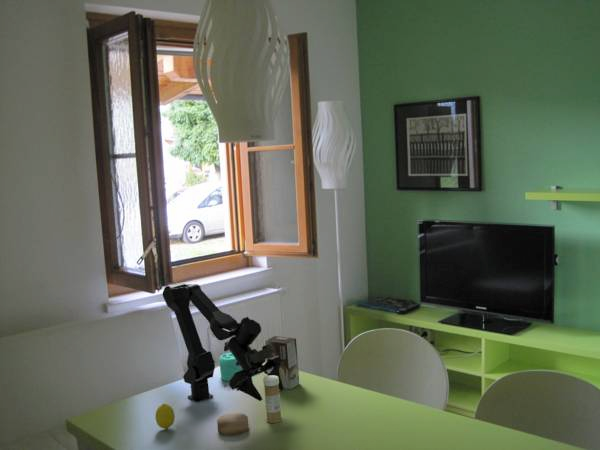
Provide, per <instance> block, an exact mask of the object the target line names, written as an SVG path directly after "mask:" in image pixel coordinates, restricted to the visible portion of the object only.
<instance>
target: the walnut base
mask: <svg viewBox="0 0 600 450" xmlns="http://www.w3.org/2000/svg"><path fill="white" fill-rule="evenodd" d="M216 422H217V433H218V432H219V433H218V434H220V435H221V436H223V437H224V436H225V437H234V436H235V437H236V436H239V435H242V434H244V433H246V432H247V431H248V430H249V417H248V416H247V414H245V413H239V412H233V413H232V412H231V413H227V414H224V415H221V416H219V418H217V420H216Z"/></svg>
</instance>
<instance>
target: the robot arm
mask: <svg viewBox="0 0 600 450" xmlns="http://www.w3.org/2000/svg"><path fill="white" fill-rule="evenodd" d="M162 296H163V299H164V302H165V304H166V306H167V307H168V308H169V309H170V310H171V311H172V312H173V313H174V315H175V317H176V320H177V323H178V327H179V329H180V331H181V332H180V333H181V335H182V338H183V340H184V344H185V346H186V350H187V353H188V354H187V355H188V356H187V360H186V365H187V370H186V371H185V373H184V375H182V377H183V381H184V383H186V384H188V385H190V392H191V393H190V395H187V399H190V400H191V401H193V402H195V403H199V402H203V401H206V400H208V399H212V398H214V395H213V394H212V393H210V390H209V389H210V388H209V379H211V378H213V377H214V372H215V369H216V364H215V363H216V361H215V360H214V357H213V353H212V351H210V350H209V351H207V350H206V349H205V348H204V347H203V345H202V342H201V338H200V336H199V332H198V330H197V327H196V324H195V321H194V319H193V315H192V311H191V309H190V304H191V303H192V304H193V306H194V307H195V308H196V309H197V310H198V311H199V312H200V313H201V315H202V316H203V317H204V318H205V319H206V320H207V321H208V323H209V326H210V331H211V333H212V334H213V335H214V336H215V338H216V339H217V340H218V341H224V340H227V339H228V341H226V342H224V347H223V352H228V351H229V353H232V354H233V356H234V357H235V359H236V360H237V363H236V365H237V366H241V368H242V369H243V370H241V371H239V372H236V373H235V374H234V375H233V377H232V378H231V379H230V381H228V385H229V387H230V388H231V390H232V391H234V390H236V391H237V392H239V391H240V392H243V393H244V394H246V395H249V396H250V397H252V398H254V399H255V400H257V401H259V402H261V401H263V397H262V396H261V394H260V392H259V390H258V389H257V387H256V385H255V384H254V383H253V377H255V376H258V375H260V374H262V373H264V374H265V375H267V376H270V375H275V376H278V378H279V391H281V392H283V390H284V388H283V385H282V381H281V378H280V373H279V369H280V367H281V363H282V362H283V361H282V359H281V358H280V357H279V356H275V357H272V356H271V354H273V353H274V351H273V348H272V347H271V346H270V345H269V344H267V345H266V344H265V345H263V346H261V347H262V348H261V350H257V349H256V348H253V349H252V348H251V346H250V345H252V344H253V342H254V341H256V339H257V338H258V336H259V335H260V334H261V332H262V326H261V324H260V323H259V322H258V321H256V320H255V319H251V318H249V316H245V317H242V319H241V320H240V322H239V321H238V320H236V319H235V318H234V317H233V316H231V315H230V314H228V313H225V312H223V311H222V310H220V309H219V307H217V305H216V304H215V303H214V302H213V301H212V300H211V299H210V298H209V297H208V295H207V294H205V292H204V291H203V289H202V288H201V286H200V284H197V283H189V284H186V283H184V282H177V283H174V284H170V285H166V286H165V287H164V288H163V290H162ZM271 357H272V358H271ZM267 358H270V359H268V361H267Z"/></svg>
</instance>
